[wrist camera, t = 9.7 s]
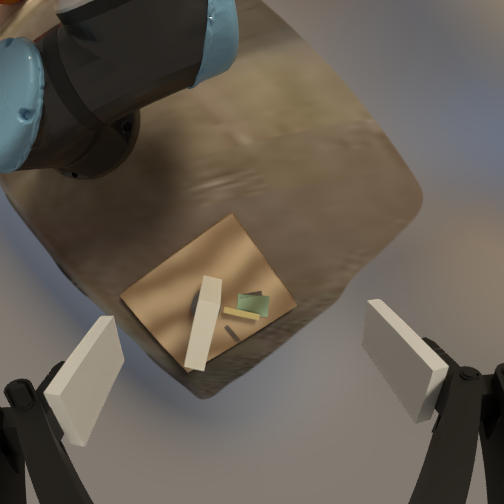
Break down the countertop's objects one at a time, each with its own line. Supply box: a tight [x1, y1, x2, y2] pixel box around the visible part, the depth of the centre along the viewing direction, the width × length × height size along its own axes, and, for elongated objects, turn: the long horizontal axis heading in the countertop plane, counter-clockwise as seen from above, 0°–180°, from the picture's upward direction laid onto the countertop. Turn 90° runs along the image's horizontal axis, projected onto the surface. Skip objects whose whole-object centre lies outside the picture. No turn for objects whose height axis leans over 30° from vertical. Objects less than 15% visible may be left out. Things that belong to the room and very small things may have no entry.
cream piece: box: [184, 275, 260, 371], centre depth 40 cm, size 10×9×10 cm
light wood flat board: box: [120, 212, 297, 372], centre depth 45 cm, size 16×20×2 cm
